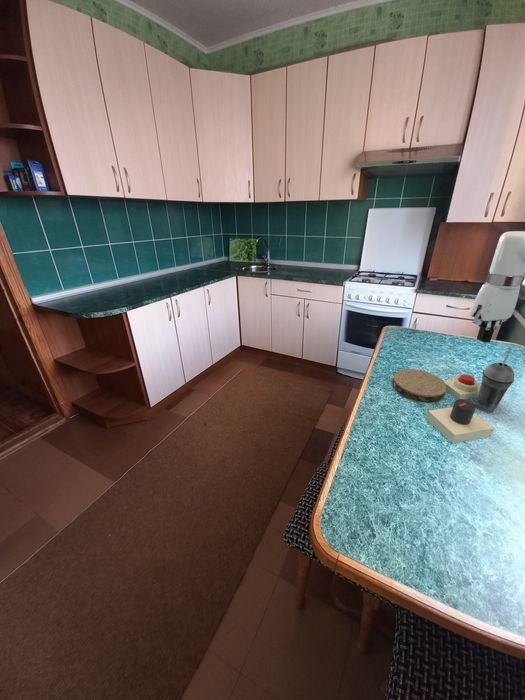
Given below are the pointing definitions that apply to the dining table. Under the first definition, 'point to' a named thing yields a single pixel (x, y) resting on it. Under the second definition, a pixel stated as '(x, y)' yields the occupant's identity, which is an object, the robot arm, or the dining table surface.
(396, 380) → the brown cork coaster
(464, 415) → the timer dial
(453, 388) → the block
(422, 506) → the dining table surface
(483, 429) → the panel
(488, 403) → the beverage cup
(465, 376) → the power button
